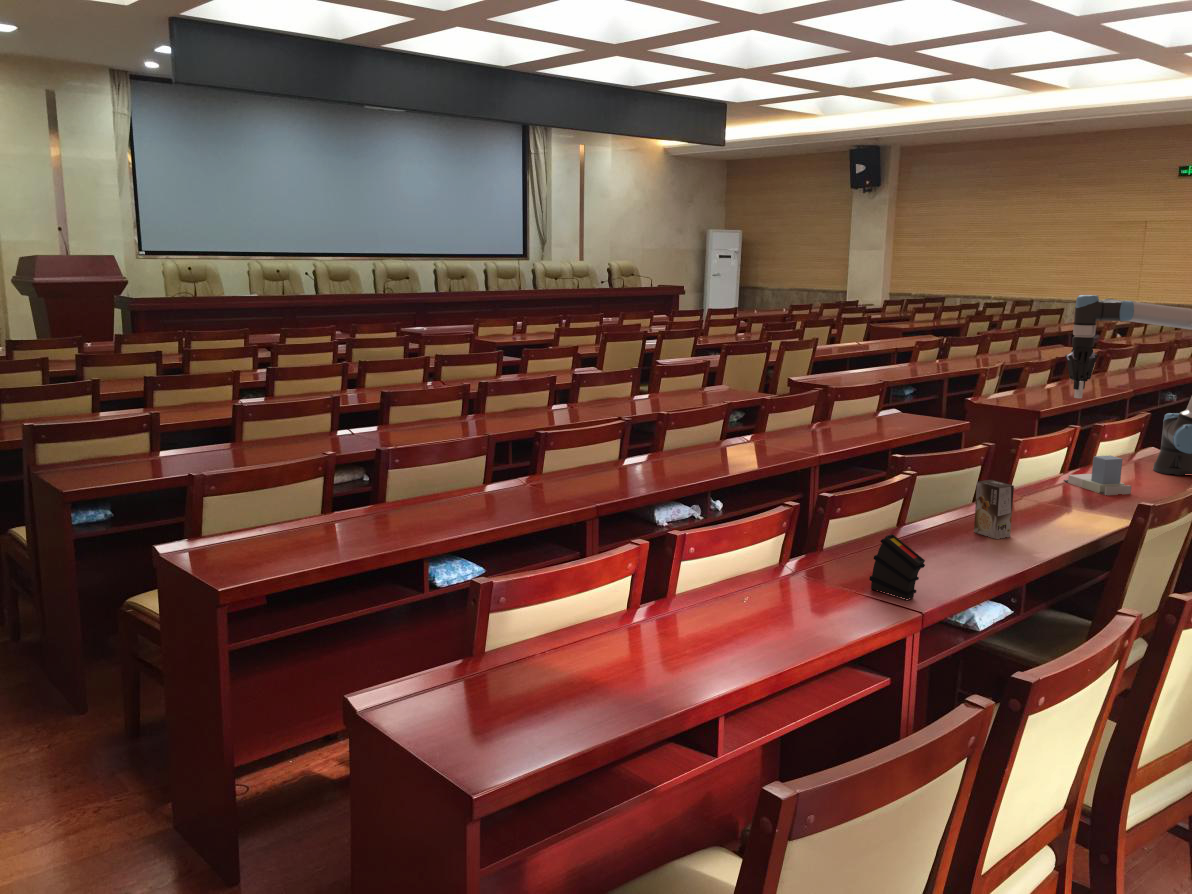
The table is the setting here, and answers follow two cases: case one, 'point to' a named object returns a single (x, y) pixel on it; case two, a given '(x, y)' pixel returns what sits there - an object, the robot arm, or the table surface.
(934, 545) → the table surface
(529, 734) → the table surface
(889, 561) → the magazine
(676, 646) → the table surface
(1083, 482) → the trap deck
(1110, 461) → the block
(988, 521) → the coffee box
